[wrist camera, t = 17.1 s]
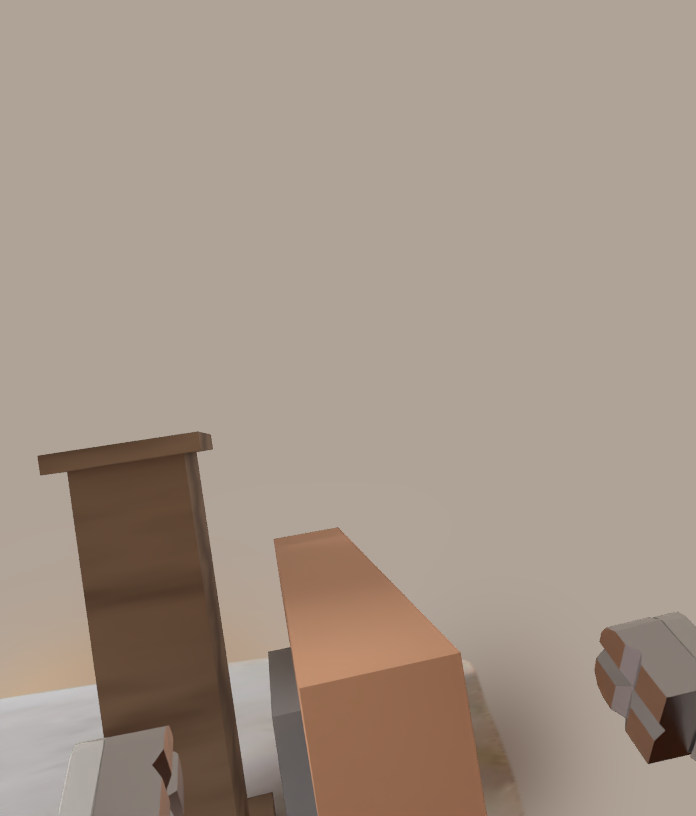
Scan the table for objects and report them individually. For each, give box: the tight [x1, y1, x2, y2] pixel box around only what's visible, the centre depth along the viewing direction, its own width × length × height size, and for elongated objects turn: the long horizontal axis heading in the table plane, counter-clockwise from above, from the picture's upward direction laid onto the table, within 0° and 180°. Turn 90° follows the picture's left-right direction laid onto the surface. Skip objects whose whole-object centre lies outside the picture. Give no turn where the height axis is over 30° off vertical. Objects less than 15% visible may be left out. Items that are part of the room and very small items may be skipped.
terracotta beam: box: [274, 528, 487, 816], centre depth 26 cm, size 23×4×4 cm, turn 9°
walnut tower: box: [38, 432, 276, 816], centre depth 35 cm, size 11×9×26 cm
